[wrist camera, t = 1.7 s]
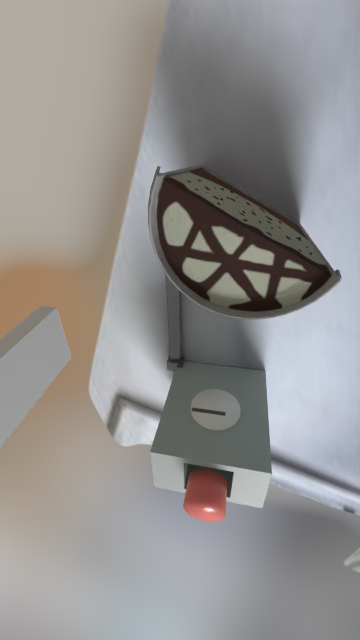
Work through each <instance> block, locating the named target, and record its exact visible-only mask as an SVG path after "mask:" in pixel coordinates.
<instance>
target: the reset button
mask: <svg viewBox="0 0 360 640" xmlns="http://www.w3.org/2000/svg"><path fill="white" fill-rule="evenodd" d="M226 497H227V481H226V479H225V478H224V477H223V476H222V475H220V474H218V473H216V472H214V471H210V470H204V469H200V470H195V471H192V472H191V473H190V474H189V477H188V482H187V488H186V493H185V499H184V505H183V507H184V510H185V511H186V512H187V513H188V514H190V515H191V516H193V517H195V518H197V519H201V520H205V521H218V520H221V519H223V518H224V517H225V511H226Z"/></svg>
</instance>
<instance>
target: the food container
mask: <svg viewBox="0 0 360 640" xmlns="http://www.w3.org/2000/svg"><path fill="white" fill-rule="evenodd" d="M159 171H160V167H159V166H158V167H157V169H156V172H155V176H154V179H153V182H152V185H151V190H150V197H149V203H148V224H149V231H150V238H151V241H152V244H153V248H154V251H155V254H156V256H157V258H158V260H159V262H160V265H161V266H162V269H163V270H164V272H165V273H166V275H167V276H168V278H169V279H170V281H171V282H172V283H173V284H174V285H175V286H176V287H177V288H178V290H179V291H180V292H182V293H183V294H184V295H185V296H186V297H188V298H189V299H190V300H191V301H193V302H195V303H196V304H198V305H199V306H201V307H203V308H205V309H207V310H209V311H212V312H214V313H217V314H220V315H224V316H227V317H232V318H239V319H265V318H273V317H277V316H281V315H285V314H288V313H291V312H294V311H296V310H299V309H301V308H303V307H305V306H307V305H309V304H311V303H313V302H315V301H316V300H318V299H319V298H321V297H322V296H323V295H325V294H326V293H328V292H329V291H330V290H331V289H332V288H333V287H335V286H336V285H337V284H338V283H339V282H340V279H341V275H340V271H339V270H336V271H334V270H333V269H332V267H331V266H330V264H329V263H328V262H327V260H326V259H325V258H324V256H323V255H322V253H321V252H320V251H319V249H318V248H317V246H316V245H315V244H314V242H313V241H312V240H311V238H310V237H309V235H308V234H307V233H306V231H305V230H304V229H303V227H302V226H301V224H300V223H298V222H296V221H295V220H293V219H291V218H290V217H288V216H286V215H284V214H283V213H281V212H279V211H278V210H276V209H274V208H272V207H271V206H269V205H267V204H266V203H264V202H262V201H261V200H259V199H257V198H255V197H254V196H252V195H250V194H249V193H247V192H245V191H243V190H242V189H240V188H238V187H237V186H235V185H233V184H232V183H230V182H228V181H226V180H225V179H223V178H221V177H220V176H218V175H216V174H214V173H213V172H211V171H209V170H208V169H206V168H204V167H203V166H201V165H200V166H195V167H191V168H186V169H181V170H176V171H171V172H166V173H159Z"/></svg>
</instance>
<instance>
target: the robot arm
mask: <svg viewBox="0 0 360 640" xmlns="http://www.w3.org/2000/svg"><path fill="white" fill-rule="evenodd" d="M71 358H72V357H71V353H70V350H69V347H68V343H67V340H66V337H65V333H64V330H63V327H62V323H61V320H60V316H59V313H58V310H57V307H47V306H40V307H39V308H38V309H37V310H35V311H34V312H33V313H32V314H30V315H29V316H28V317H27V318H26V319H24V320H23V321H22V322H21V323H20V324H18V325H17V326H16V327H15V328H14V329H12V330H11V331H10V332H9V333H8V334H6V335H5V336H4V337H3V338H2V339H1V340H0V447H1V446H2V445H3V443H4V442H5V441H6V440H7V438H8V437H9V436H10V435H11V433H12V432H13V431H14V430H15V428H16V427H17V426H18V424H19V423H20V422H21V421H22V420H23V418H24V417H25V416H26V414H27V413H28V412H29V411H30V409H31V408H32V407H33V406H34V404H35V403H36V402H37V401H38V399H39V398H40V397H41V396H42V394H43V393H44V392H45V391H46V389H47V388H48V387H49V385H50V384H51V383H52V382H53V380H54V379H55V378H56V377H57V375H58V374H59V373H60V372H61V370H62V369H63V368H64V367H65V365H66V364H67V363H68V362H69V360H70V359H71Z"/></svg>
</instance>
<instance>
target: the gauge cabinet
mask: <svg viewBox="0 0 360 640" xmlns="http://www.w3.org/2000/svg"><path fill="white" fill-rule="evenodd" d="M150 455H151V463H152V471H153V479H154V486H155V487H158V488H163V489H168V490H173V491H178V492H183V493H186V488H187V482H188V477H189V474H190V473H191V472H192V471H195V470H200V469H204V470H210V471H214V472H216V473H218V474H220V475H222V476H223V477H224V478H225V479H226V481H227V497H226V501H228V502H233V503H238V504H243V505H248V506H253V507H258V508H263V504H264V500H265V497H266V493H267V490H268V486H269V482H270V479H271V475H272V469H271V453H270V437H269V421H268V405H267V389H266V373H265V371H263V370H255V369H246V368H238V367H229V366H221V365H213V364H204V363H196V362H187V361H184V364H183V368H179V367H176V370H175V374H174V377H173V380H172V383H171V386H170V390H169V393H168V396H167V399H166V403H165V406H164V409H163V412H162V415H161V419H160V422H159V425H158V428H157V432H156V435H155V438H154V441H153V444H152V448H151V451H150Z"/></svg>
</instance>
